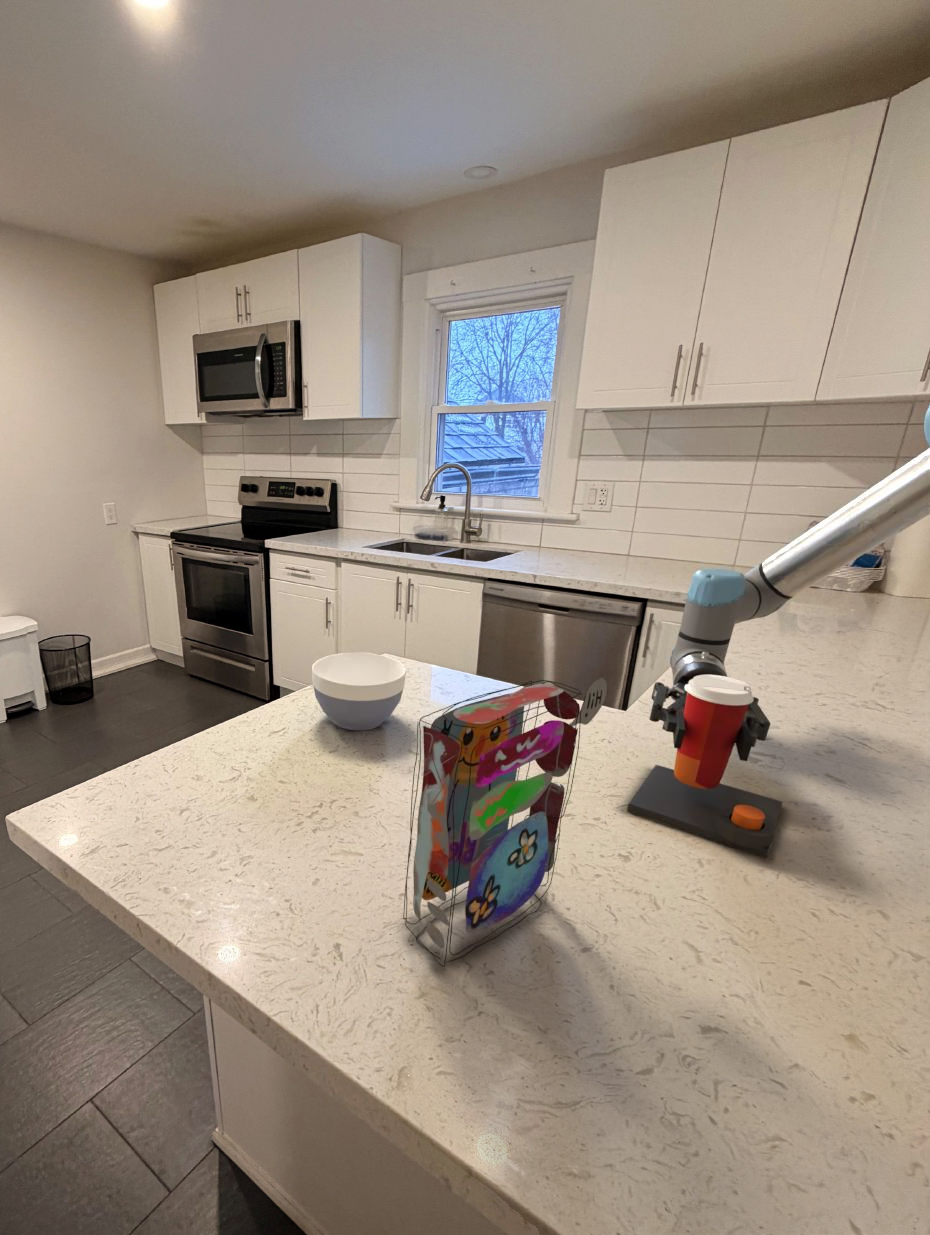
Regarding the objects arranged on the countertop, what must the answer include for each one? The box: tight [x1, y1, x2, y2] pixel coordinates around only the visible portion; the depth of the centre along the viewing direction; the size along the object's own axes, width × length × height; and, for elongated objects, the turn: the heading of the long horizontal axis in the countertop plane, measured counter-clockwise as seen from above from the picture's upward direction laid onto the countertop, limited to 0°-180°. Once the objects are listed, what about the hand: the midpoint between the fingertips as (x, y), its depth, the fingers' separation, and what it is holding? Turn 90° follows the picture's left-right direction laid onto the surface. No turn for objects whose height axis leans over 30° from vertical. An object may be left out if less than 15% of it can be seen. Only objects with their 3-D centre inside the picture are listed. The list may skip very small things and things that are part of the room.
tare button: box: [731, 805, 765, 830], centre depth 79 cm, size 3×3×2 cm
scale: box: [626, 764, 783, 859], centre depth 85 cm, size 16×15×3 cm
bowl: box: [311, 652, 407, 731], centre depth 110 cm, size 16×16×10 cm
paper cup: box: [673, 675, 754, 789], centre depth 85 cm, size 8×8×14 cm
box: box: [402, 677, 608, 968], centre depth 65 cm, size 25×6×24 cm, turn 126°
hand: (712, 744), depth 81 cm, fingers closed on paper cup, 7 cm apart
